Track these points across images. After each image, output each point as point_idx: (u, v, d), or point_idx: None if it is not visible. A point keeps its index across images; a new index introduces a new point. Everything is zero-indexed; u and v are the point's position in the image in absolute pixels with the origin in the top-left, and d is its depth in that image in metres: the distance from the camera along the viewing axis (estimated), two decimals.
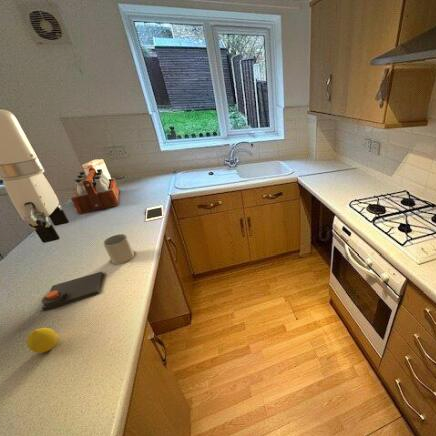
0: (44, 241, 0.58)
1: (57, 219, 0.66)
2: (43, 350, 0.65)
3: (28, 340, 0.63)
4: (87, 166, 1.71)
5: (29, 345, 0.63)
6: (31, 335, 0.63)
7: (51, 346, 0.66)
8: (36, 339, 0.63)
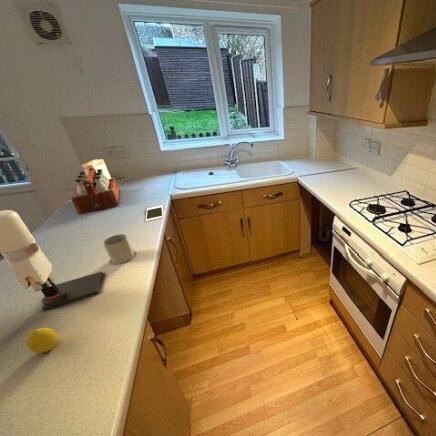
0: (47, 296, 0.79)
1: None
2: (43, 350, 0.65)
3: (28, 340, 0.63)
4: (87, 166, 1.71)
5: (29, 345, 0.63)
6: (31, 335, 0.63)
7: (51, 346, 0.66)
8: (36, 339, 0.63)
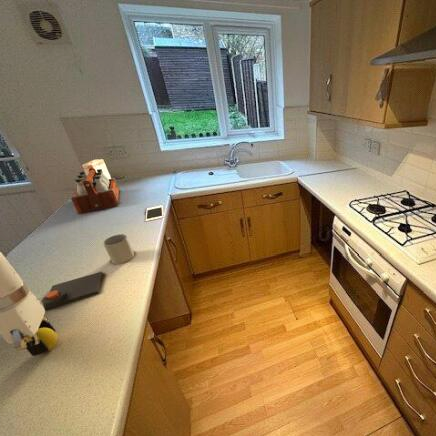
0: (34, 355, 0.63)
1: None
2: None
3: (28, 340, 0.63)
4: (87, 166, 1.71)
5: None
6: None
7: (51, 346, 0.66)
8: None
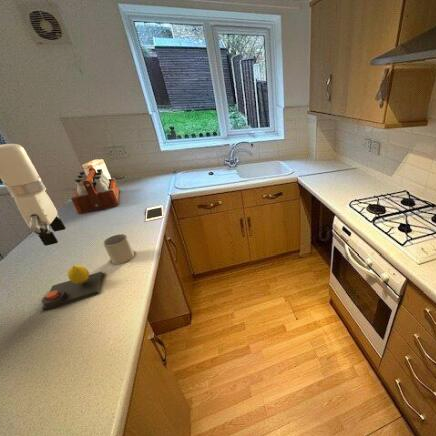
0: (46, 244, 0.74)
1: (56, 226, 0.81)
2: (79, 281, 0.85)
3: (69, 272, 0.84)
4: (87, 166, 1.71)
5: (70, 276, 0.84)
6: (71, 269, 0.84)
7: (85, 279, 0.86)
8: (75, 272, 0.84)
